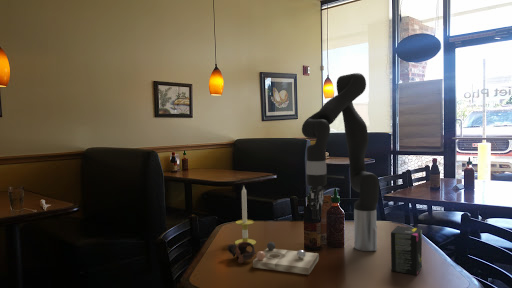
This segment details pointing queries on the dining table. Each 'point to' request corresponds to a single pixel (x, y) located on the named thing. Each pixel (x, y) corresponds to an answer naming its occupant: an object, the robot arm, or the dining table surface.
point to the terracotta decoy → (260, 255)
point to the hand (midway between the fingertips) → (317, 216)
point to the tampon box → (406, 250)
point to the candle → (244, 221)
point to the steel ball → (301, 254)
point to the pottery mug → (241, 251)
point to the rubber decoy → (271, 246)
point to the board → (287, 261)
